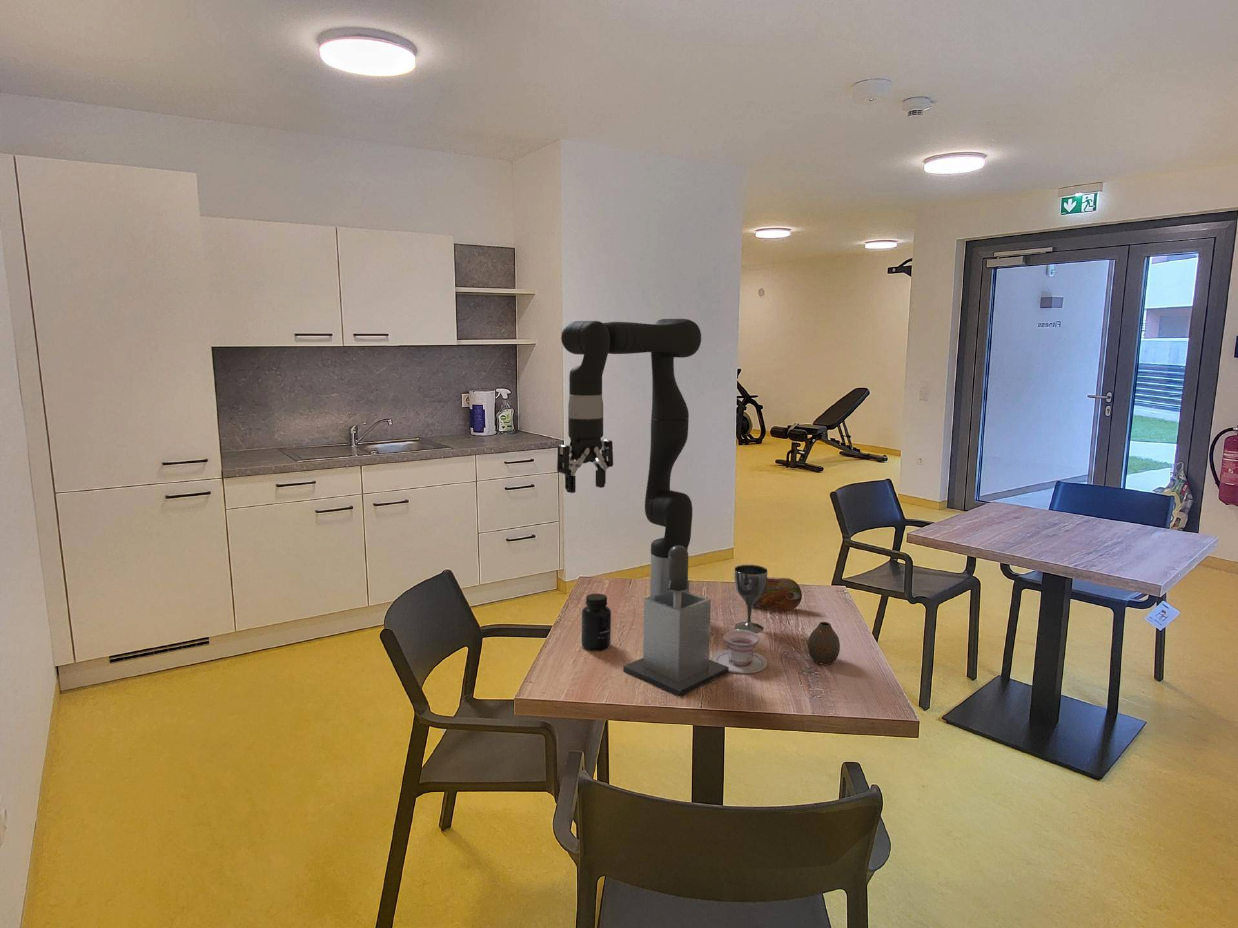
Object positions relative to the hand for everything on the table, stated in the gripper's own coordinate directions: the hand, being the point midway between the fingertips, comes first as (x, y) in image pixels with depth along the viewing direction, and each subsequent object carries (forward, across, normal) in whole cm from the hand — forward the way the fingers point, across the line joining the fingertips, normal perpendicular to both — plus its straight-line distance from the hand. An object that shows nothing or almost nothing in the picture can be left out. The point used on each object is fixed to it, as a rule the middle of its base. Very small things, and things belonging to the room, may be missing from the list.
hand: (585, 489), depth 164 cm
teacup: (+38, +22, -27) cm, 52 cm away
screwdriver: (+35, +8, -20) cm, 41 cm away
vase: (+38, +36, -39) cm, 65 cm away
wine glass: (+38, +40, -16) cm, 58 cm away
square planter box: (+38, +8, -20) cm, 44 cm away
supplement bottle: (+38, +5, +2) cm, 39 cm away
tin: (+38, +56, -12) cm, 69 cm away
